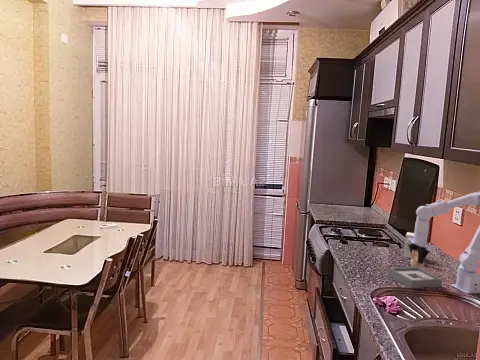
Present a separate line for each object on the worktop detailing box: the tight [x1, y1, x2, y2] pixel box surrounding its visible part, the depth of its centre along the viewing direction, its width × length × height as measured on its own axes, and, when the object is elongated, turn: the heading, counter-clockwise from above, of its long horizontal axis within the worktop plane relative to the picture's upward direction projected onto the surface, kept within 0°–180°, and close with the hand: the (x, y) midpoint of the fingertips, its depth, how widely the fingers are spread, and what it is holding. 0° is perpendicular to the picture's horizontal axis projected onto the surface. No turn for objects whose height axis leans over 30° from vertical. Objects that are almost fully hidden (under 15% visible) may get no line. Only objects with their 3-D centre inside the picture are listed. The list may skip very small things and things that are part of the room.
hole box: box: [387, 266, 443, 289], centre depth 192 cm, size 16×16×4 cm
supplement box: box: [402, 231, 414, 259], centre depth 231 cm, size 7×7×13 cm
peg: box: [410, 250, 425, 268], centre depth 192 cm, size 4×4×7 cm
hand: (417, 261), depth 192 cm, fingers closed on peg, 4 cm apart
